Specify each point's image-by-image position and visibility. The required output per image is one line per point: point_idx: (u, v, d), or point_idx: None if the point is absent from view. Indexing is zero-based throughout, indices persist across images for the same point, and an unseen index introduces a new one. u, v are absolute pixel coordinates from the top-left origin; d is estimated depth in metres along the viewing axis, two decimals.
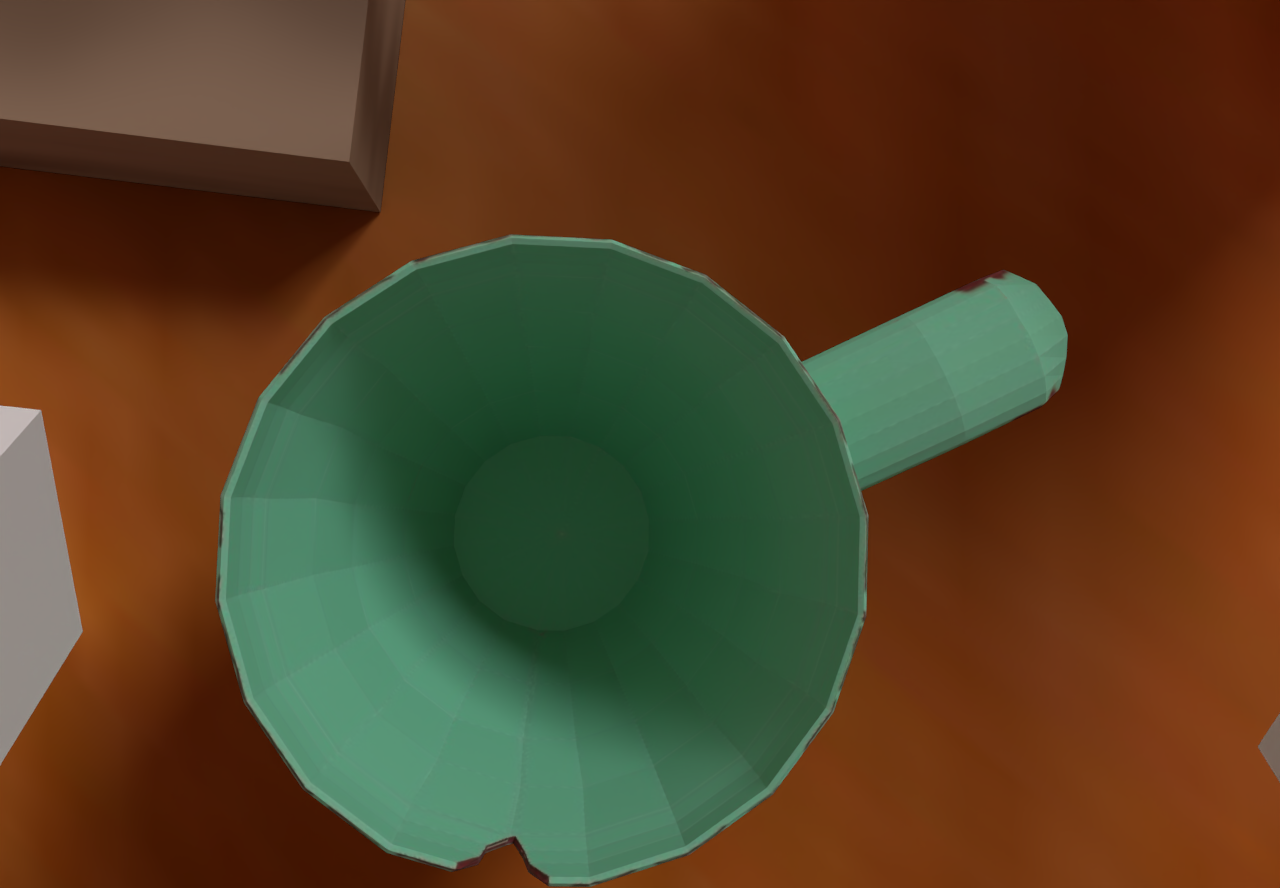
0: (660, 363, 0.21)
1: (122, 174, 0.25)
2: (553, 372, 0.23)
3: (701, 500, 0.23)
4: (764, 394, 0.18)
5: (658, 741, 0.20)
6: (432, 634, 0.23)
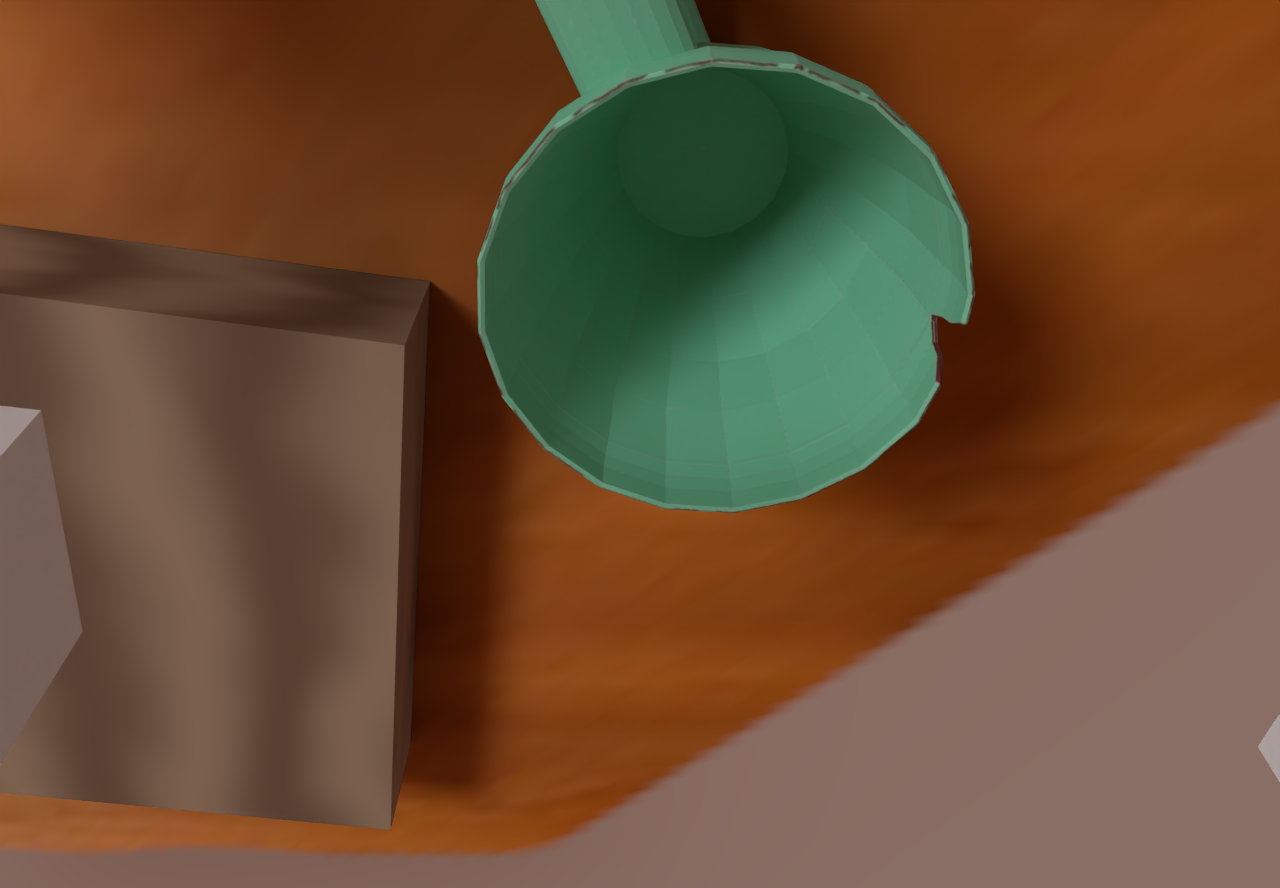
0: (563, 136, 0.24)
1: (419, 456, 0.34)
2: (567, 192, 0.27)
3: None
4: None
5: (887, 159, 0.24)
6: (776, 283, 0.29)
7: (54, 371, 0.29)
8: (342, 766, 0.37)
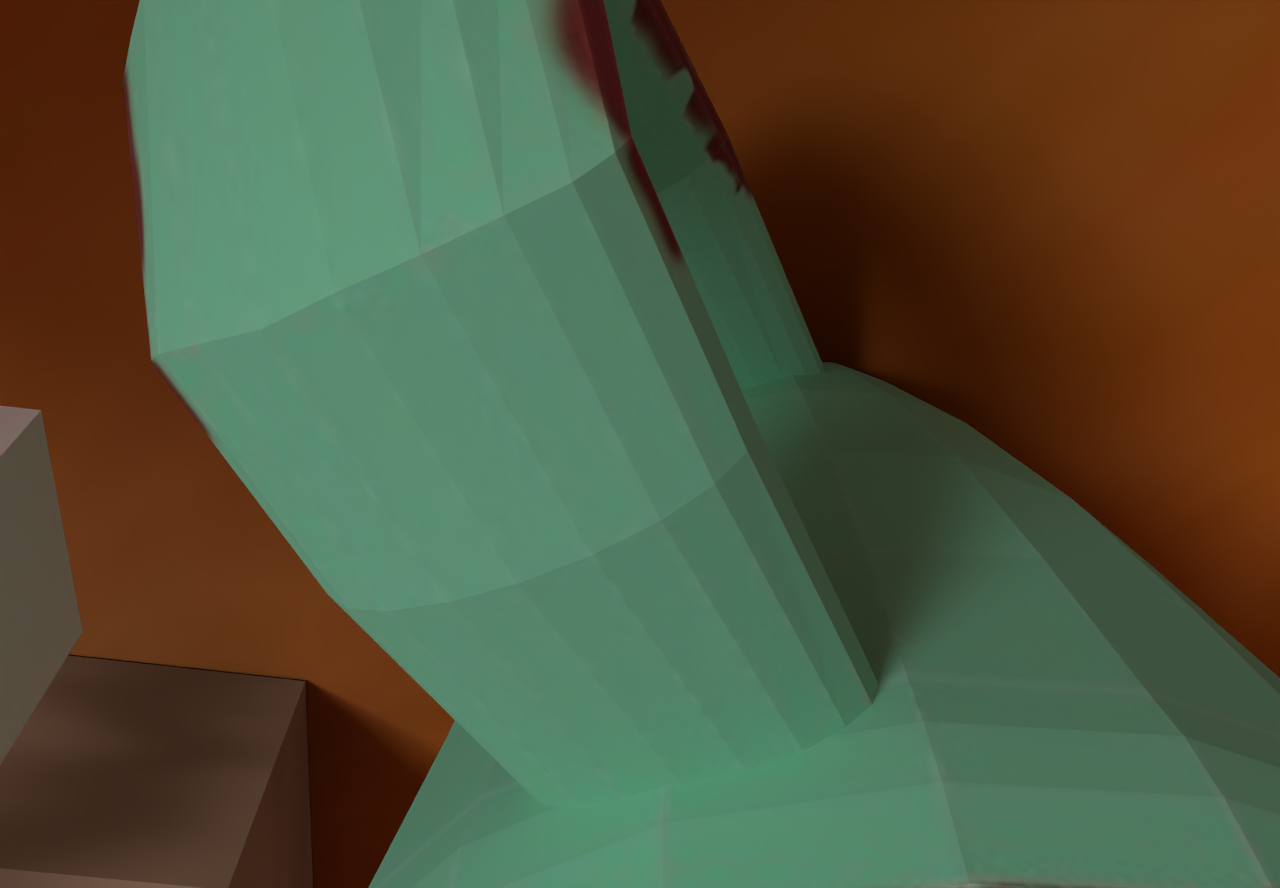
0: None
1: None
2: None
3: None
4: None
5: None
6: None
7: None
8: None
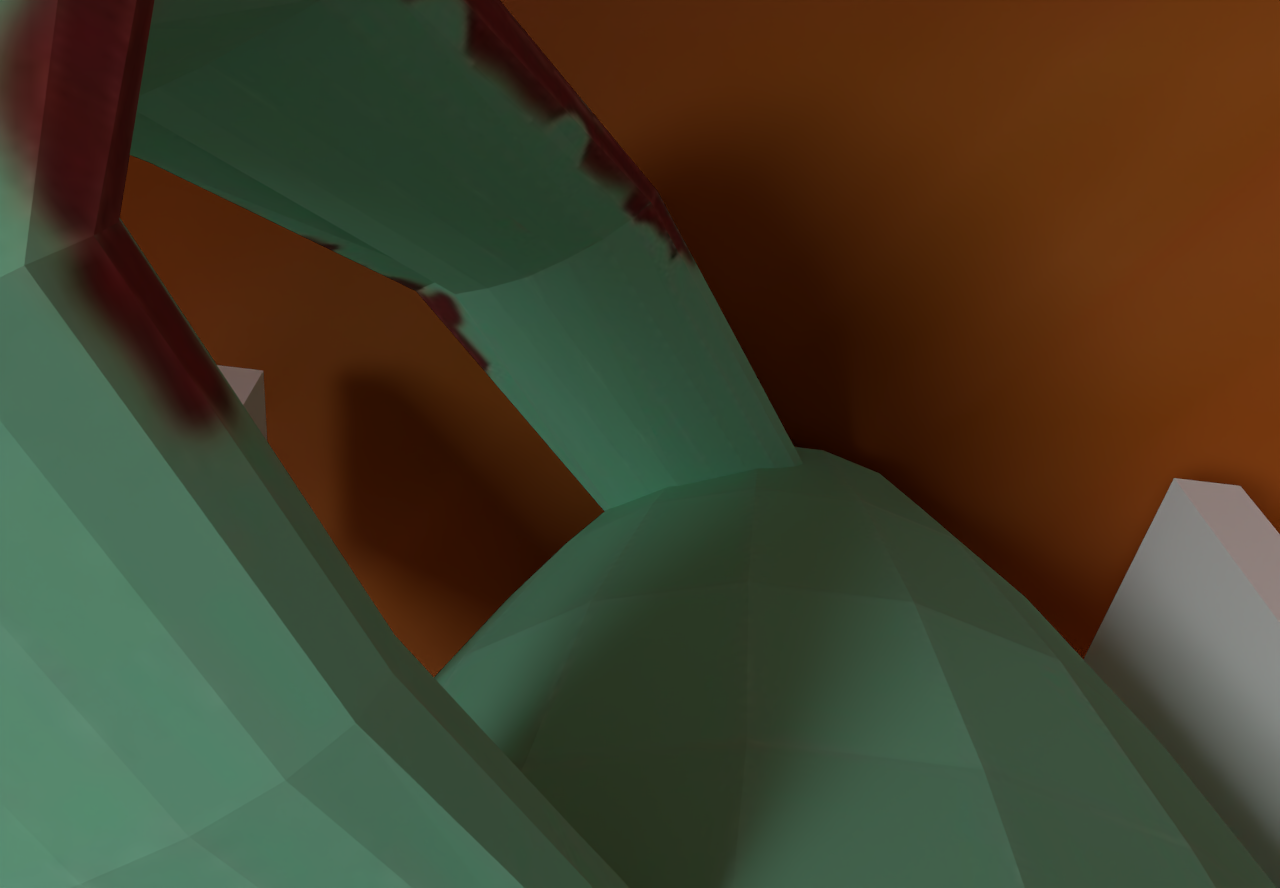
0: None
1: None
2: None
3: None
4: None
5: None
6: None
7: None
8: None
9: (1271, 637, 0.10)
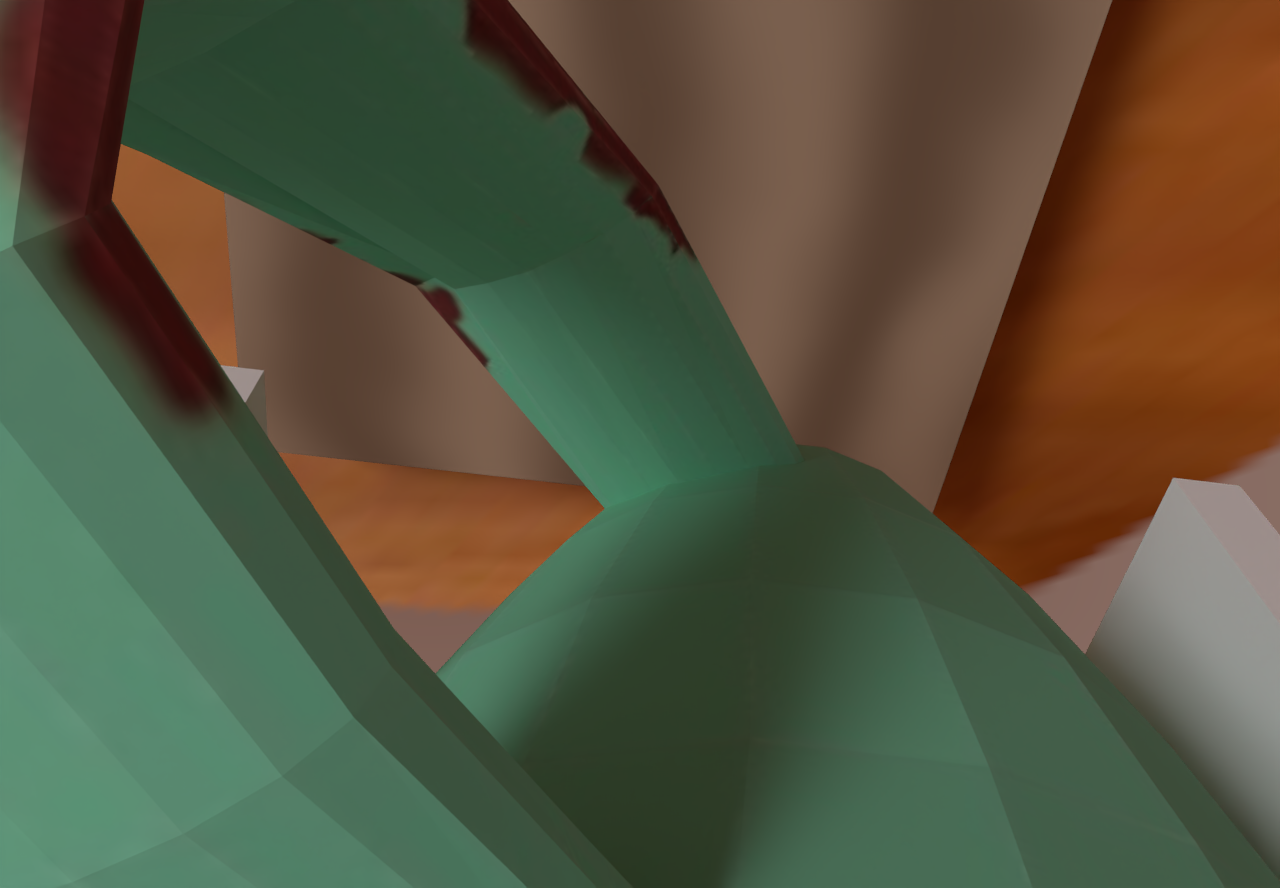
0: None
1: None
2: None
3: None
4: None
5: None
6: None
7: None
8: (901, 427, 0.30)
9: (1270, 637, 0.10)
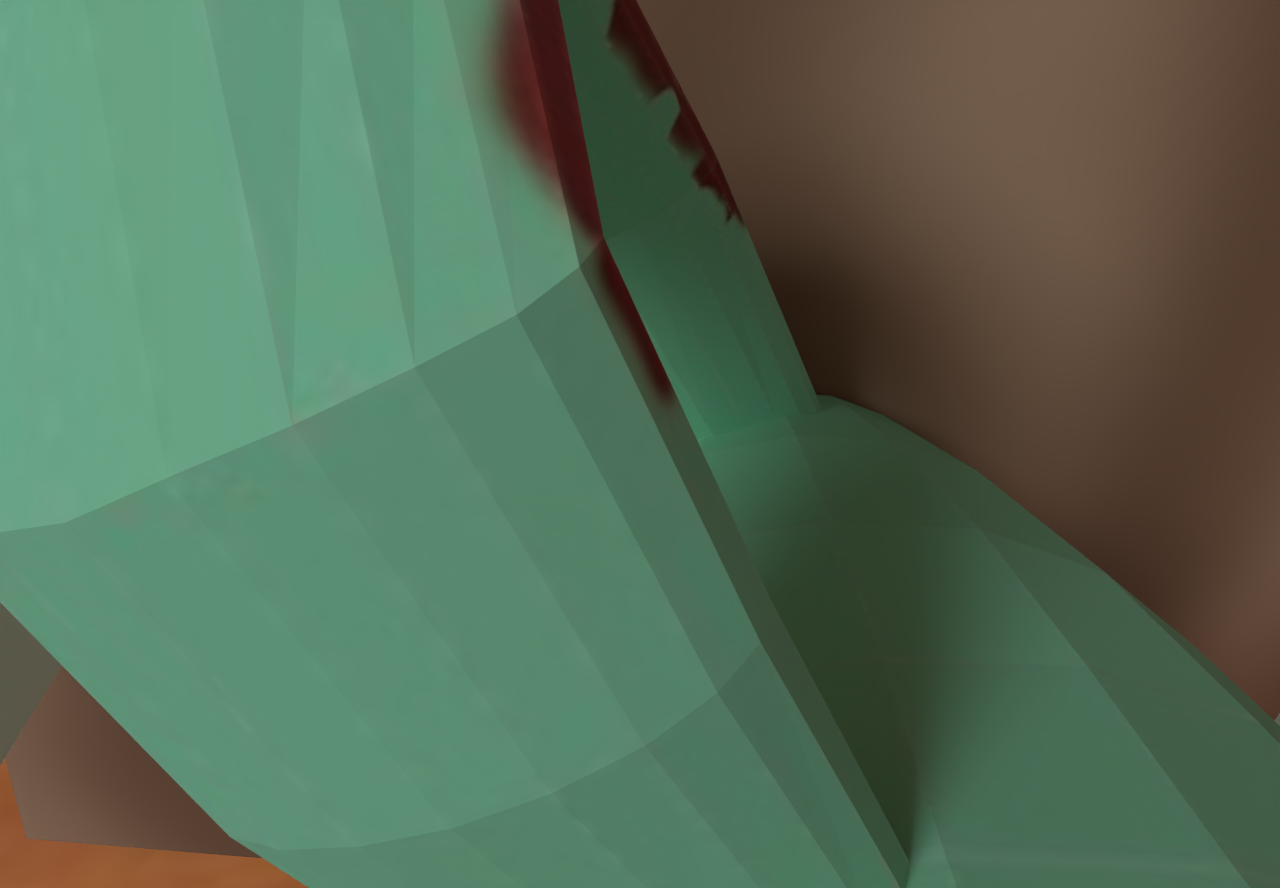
0: None
1: None
2: None
3: None
4: None
5: None
6: None
7: None
8: None
9: None
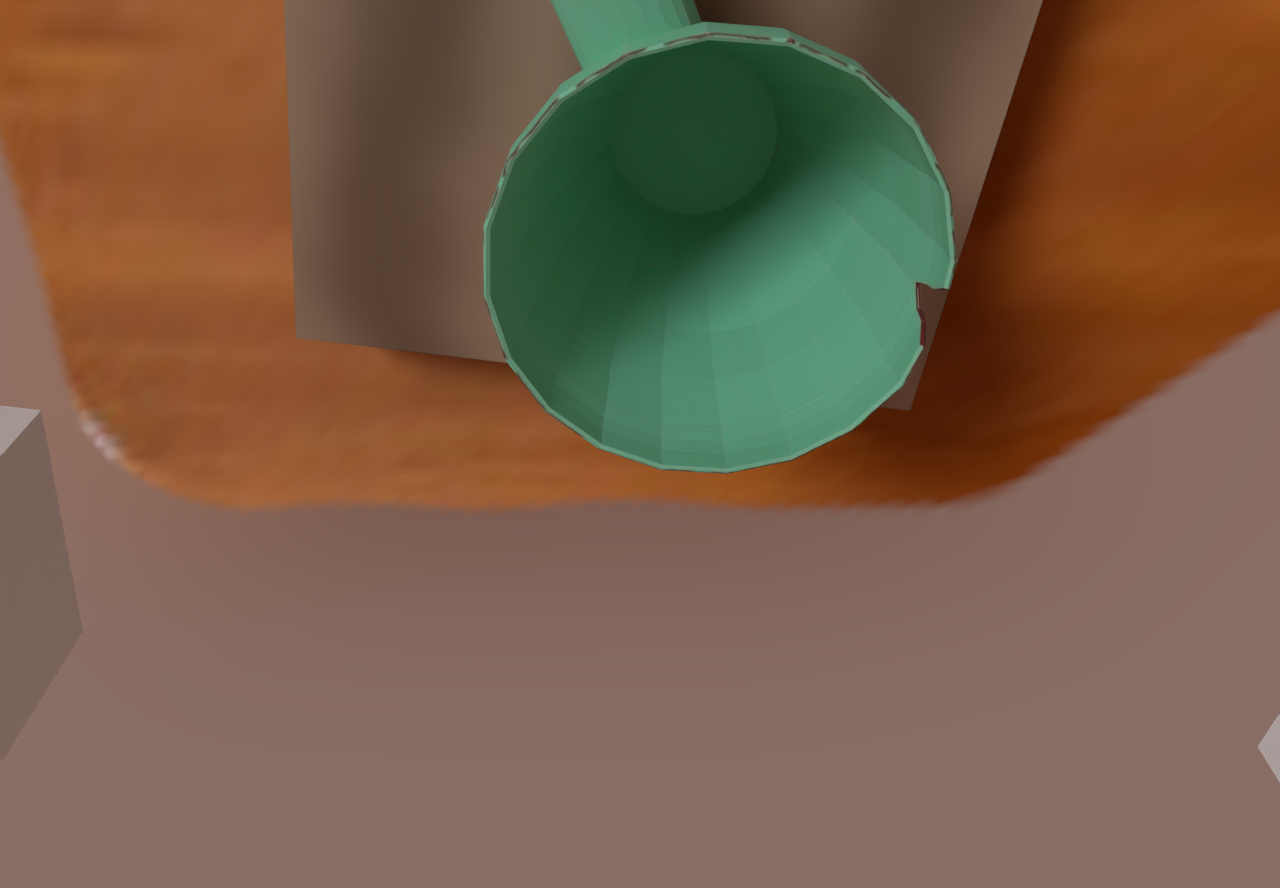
0: (563, 111, 0.25)
1: None
2: (565, 169, 0.28)
3: None
4: None
5: (873, 134, 0.25)
6: (766, 258, 0.30)
7: None
8: None
9: None
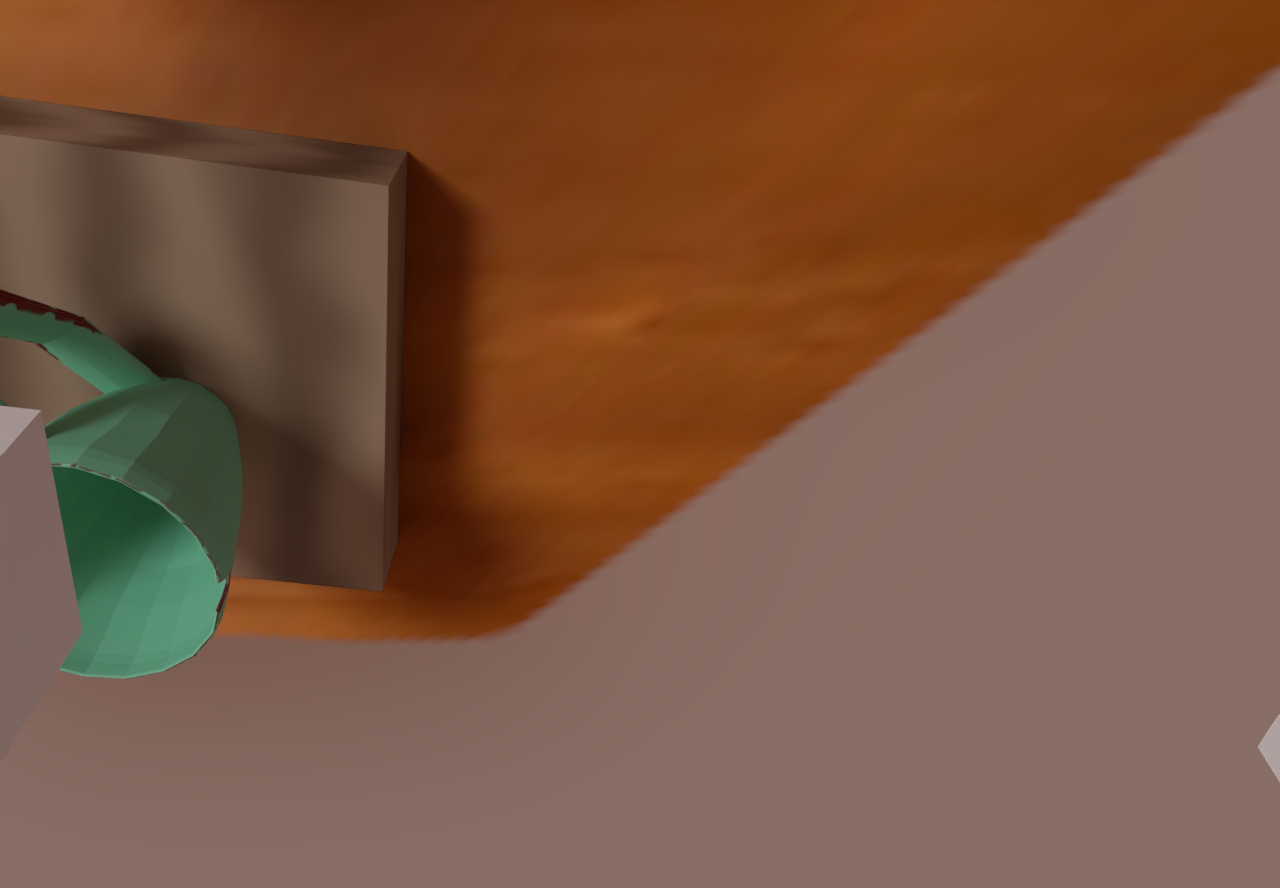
0: None
1: (401, 289, 0.46)
2: (59, 470, 0.43)
3: None
4: None
5: None
6: None
7: (139, 207, 0.41)
8: (345, 534, 0.49)
9: None
